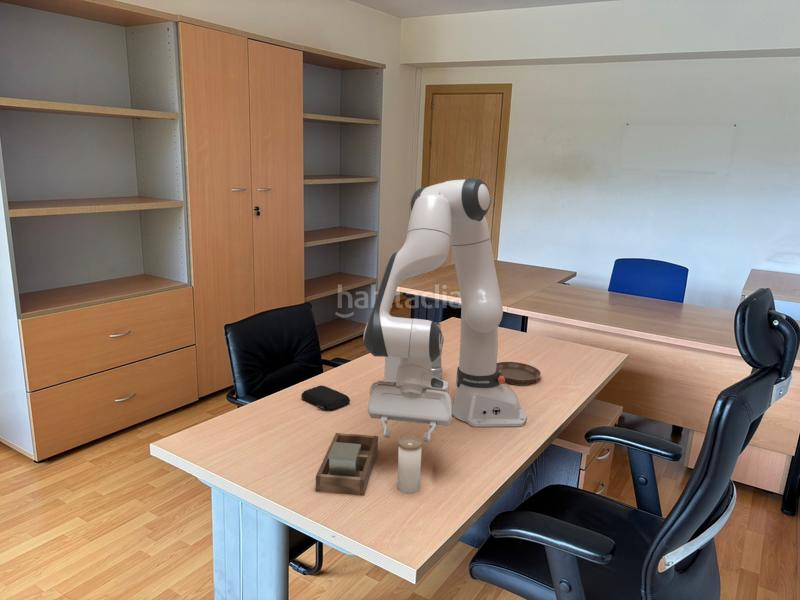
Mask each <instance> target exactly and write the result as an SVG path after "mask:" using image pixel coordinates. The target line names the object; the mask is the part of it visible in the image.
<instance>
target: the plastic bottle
mask: <svg viewBox="0 0 800 600" xmlns="http://www.w3.org/2000/svg"><path fill="white" fill-rule="evenodd" d="M434 323H435V324H436V325H437V326H438V327H439V329H440V330H441V329H442V328H441V326H442V325H441V323H440V322H434ZM441 331H442V330H441ZM444 342H445V338H444V335H443V334H442V337H441V342H440V347H439V349H440V355H439V357H438V358H437V359H436V360H435V361H433V363H432V367H431V369H432V376H434V377H436V378H439V379H441V377H443V376H442V375H443V366H442V365H443V364H442V363H443V362H442V355H443V347H444Z"/></svg>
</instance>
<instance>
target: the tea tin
mask: <svg viewBox="0 0 800 600" xmlns="http://www.w3.org/2000/svg"><path fill="white" fill-rule="evenodd" d="M360 449H361V444H352V443H340V442H334V444H333V446H332V448H331V451H330V453H329V455H328V459H329V475H338V476H349V477H359V475H360Z"/></svg>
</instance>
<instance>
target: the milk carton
mask: <svg viewBox="0 0 800 600" xmlns="http://www.w3.org/2000/svg"><path fill="white" fill-rule="evenodd" d="M399 364H400V358H399V357H391V356H388V357H384V381H383V382H396V375H397V369H398V367H399Z"/></svg>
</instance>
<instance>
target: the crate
mask: <svg viewBox="0 0 800 600" xmlns="http://www.w3.org/2000/svg"><path fill="white" fill-rule="evenodd" d="M334 442H340V443H352V444H361V449H360V475H359V477H349V476H338V475H329V459H328V455H329V453H330V451H331V448H332V446H333V444H334ZM378 450H379V436H378V435H368V434H367V435H366V434H353V433H344V432H343V433H342V432H336V433H335V435H334V436H333V439H332V440H331V442H330V445H329V447H328V450H327V451H326V454H325V455H324V458H323V460H322V462H321V464H320V466H319V468H318V471H317V472H316V474H315V492H319V493H329V494H330V493H331V494H340V495H341V494H342V495H351V496H352V495H353V496H365V494H366V491H367V487H368V484H369V480H370V476H371V474H372V471H373V467H374V463H375V461H376V457H377V455H378V454H377V453H378Z"/></svg>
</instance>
